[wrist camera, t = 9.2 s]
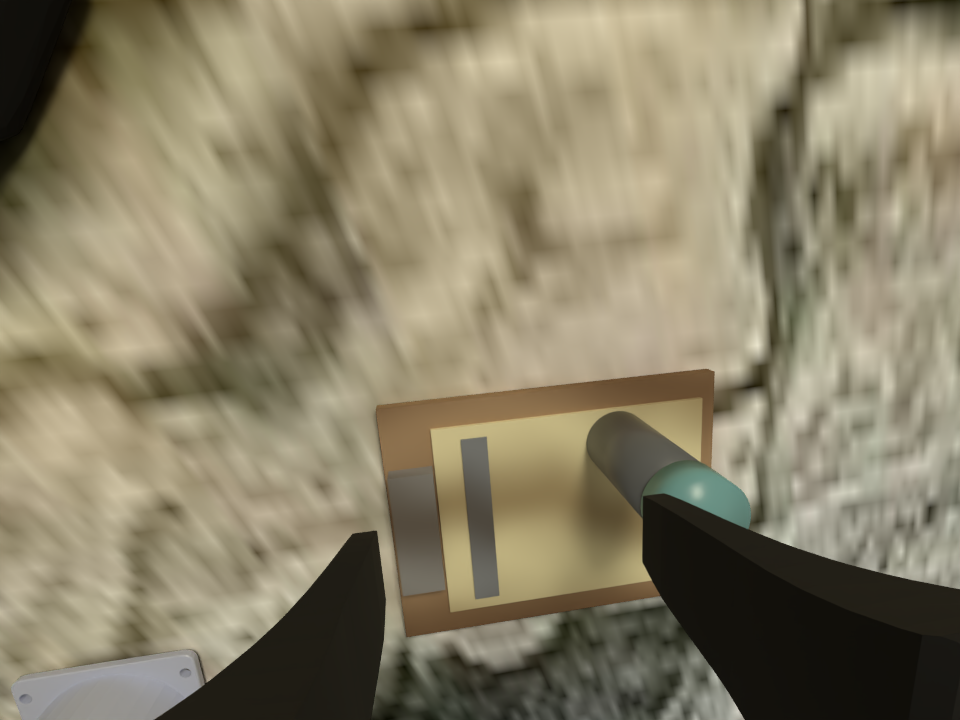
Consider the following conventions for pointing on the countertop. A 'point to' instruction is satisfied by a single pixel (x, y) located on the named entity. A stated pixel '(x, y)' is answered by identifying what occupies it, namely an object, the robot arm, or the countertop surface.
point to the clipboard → (523, 497)
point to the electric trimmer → (25, 55)
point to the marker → (660, 468)
